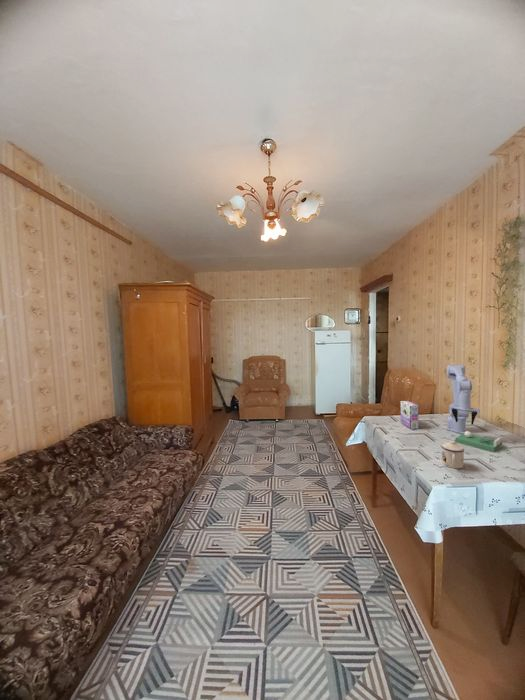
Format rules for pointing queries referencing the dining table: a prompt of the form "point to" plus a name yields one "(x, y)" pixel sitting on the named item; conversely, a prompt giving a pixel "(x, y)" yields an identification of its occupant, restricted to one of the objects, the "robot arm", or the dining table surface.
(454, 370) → the robot arm
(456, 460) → the teacup with lid
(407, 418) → the candy box
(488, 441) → the green
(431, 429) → the dining table surface
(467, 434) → the ball
